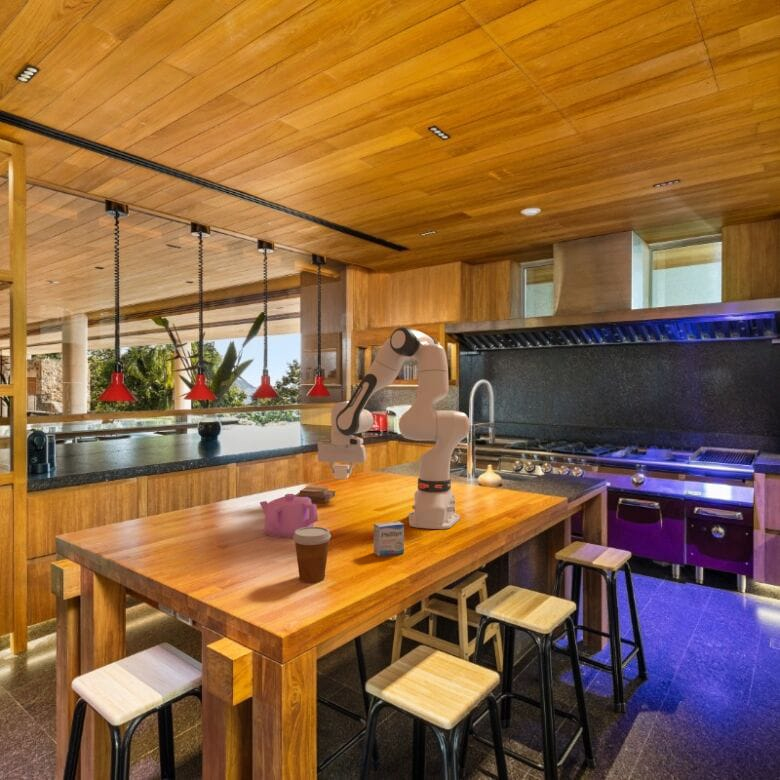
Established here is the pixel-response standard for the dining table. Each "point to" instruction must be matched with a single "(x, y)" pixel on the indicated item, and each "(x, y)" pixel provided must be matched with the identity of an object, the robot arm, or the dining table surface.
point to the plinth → (319, 499)
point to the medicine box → (388, 538)
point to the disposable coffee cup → (312, 552)
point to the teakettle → (288, 515)
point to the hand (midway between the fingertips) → (341, 473)
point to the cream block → (341, 472)
